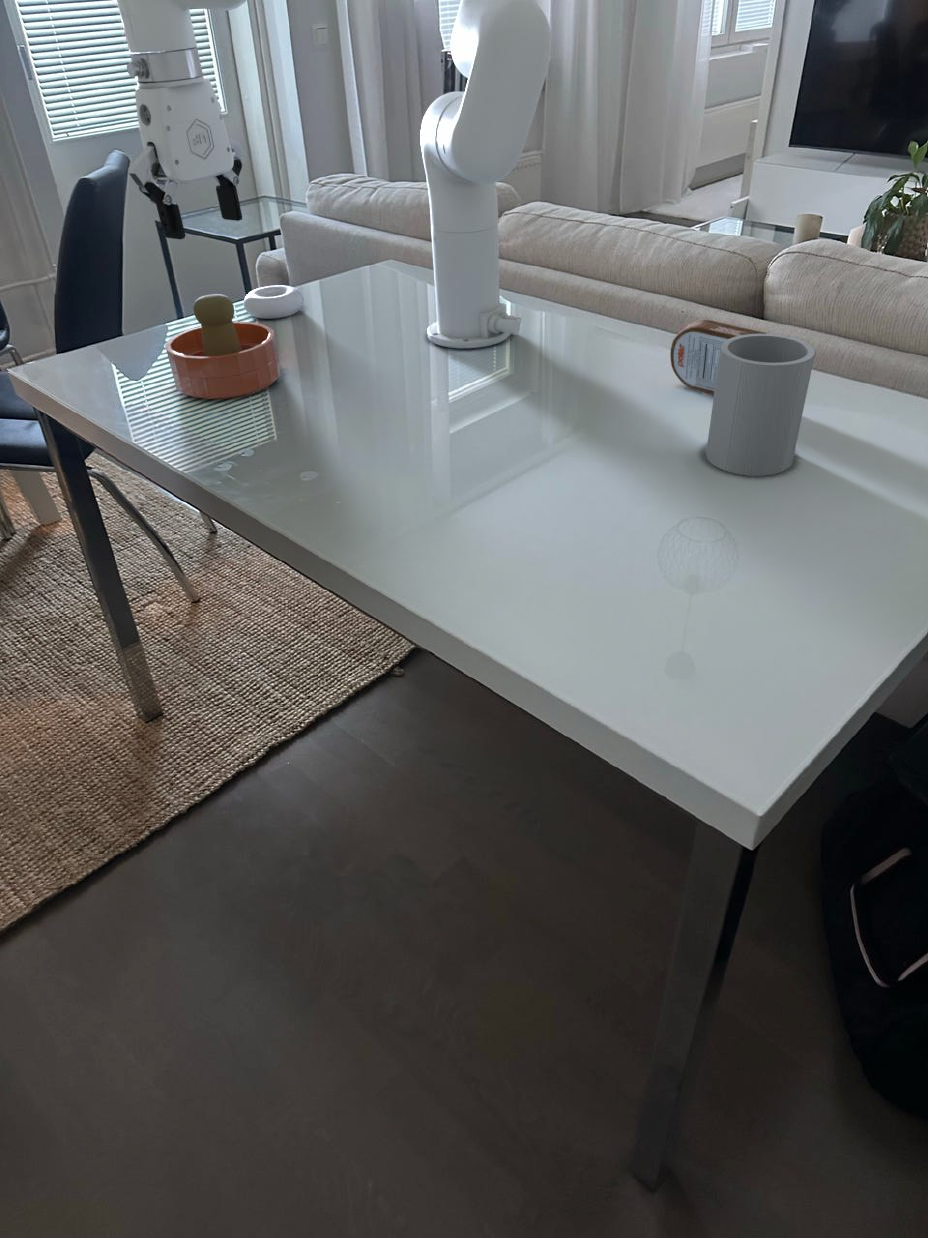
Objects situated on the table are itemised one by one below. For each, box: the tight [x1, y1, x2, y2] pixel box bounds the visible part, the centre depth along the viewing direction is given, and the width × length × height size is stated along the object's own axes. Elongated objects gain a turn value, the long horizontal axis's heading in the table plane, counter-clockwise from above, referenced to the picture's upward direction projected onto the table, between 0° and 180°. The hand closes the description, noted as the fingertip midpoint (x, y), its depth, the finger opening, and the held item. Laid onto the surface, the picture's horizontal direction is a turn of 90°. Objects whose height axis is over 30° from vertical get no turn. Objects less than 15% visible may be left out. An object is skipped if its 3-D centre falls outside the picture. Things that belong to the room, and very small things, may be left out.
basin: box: [165, 321, 282, 400], centre depth 117 cm, size 14×14×6 cm
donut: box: [243, 284, 305, 320], centre depth 142 cm, size 10×4×10 cm
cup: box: [705, 333, 816, 477], centre depth 90 cm, size 9×9×12 cm
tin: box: [669, 319, 768, 395], centre depth 105 cm, size 15×3×8 cm, turn 47°
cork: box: [192, 293, 242, 357], centre depth 115 cm, size 6×6×11 cm
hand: (205, 228), depth 108 cm, fingers open, 9 cm apart
